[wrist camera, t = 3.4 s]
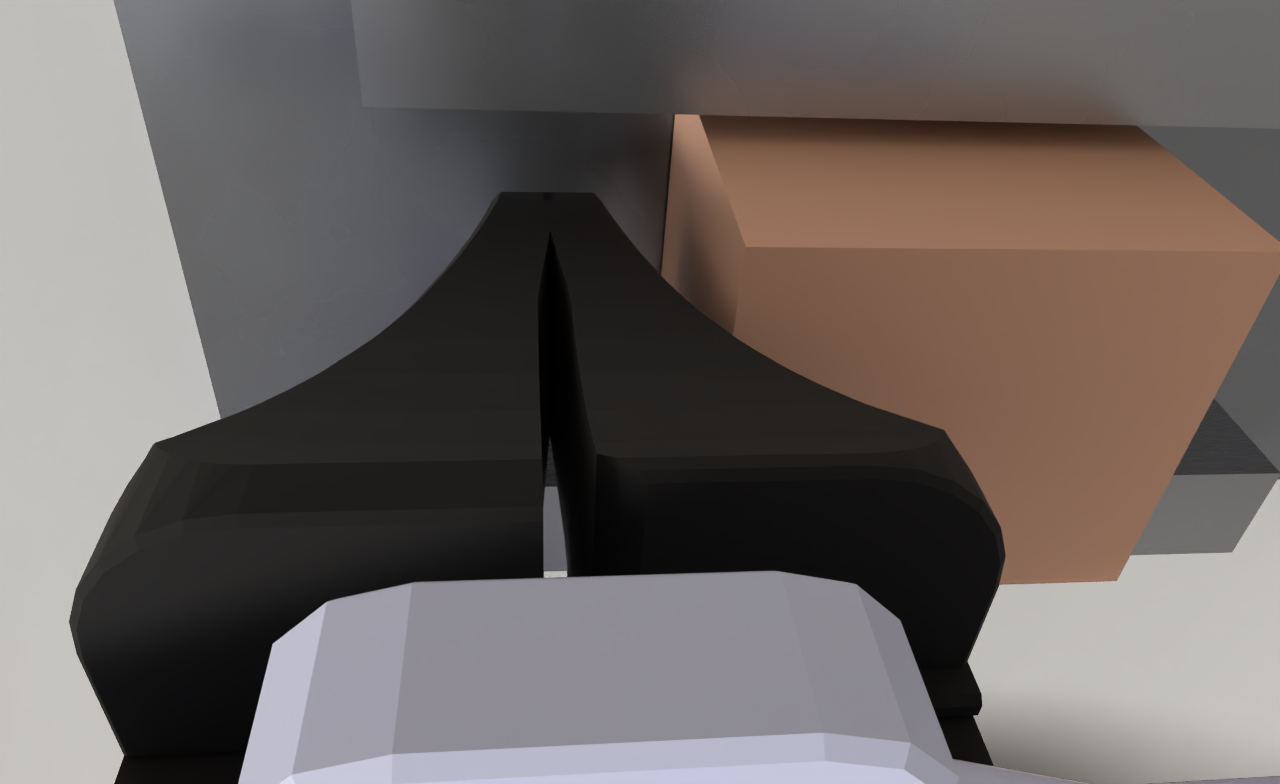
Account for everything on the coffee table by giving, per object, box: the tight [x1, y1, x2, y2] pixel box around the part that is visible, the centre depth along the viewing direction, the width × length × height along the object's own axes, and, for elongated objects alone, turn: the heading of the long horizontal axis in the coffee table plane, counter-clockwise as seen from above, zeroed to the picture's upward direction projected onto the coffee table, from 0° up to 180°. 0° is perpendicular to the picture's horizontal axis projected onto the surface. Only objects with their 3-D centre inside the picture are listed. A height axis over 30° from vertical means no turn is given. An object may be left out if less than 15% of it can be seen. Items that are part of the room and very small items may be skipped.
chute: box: [114, 0, 1280, 571], centre depth 13 cm, size 10×22×4 cm, turn 87°
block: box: [661, 114, 1280, 585], centre depth 12 cm, size 4×5×4 cm
